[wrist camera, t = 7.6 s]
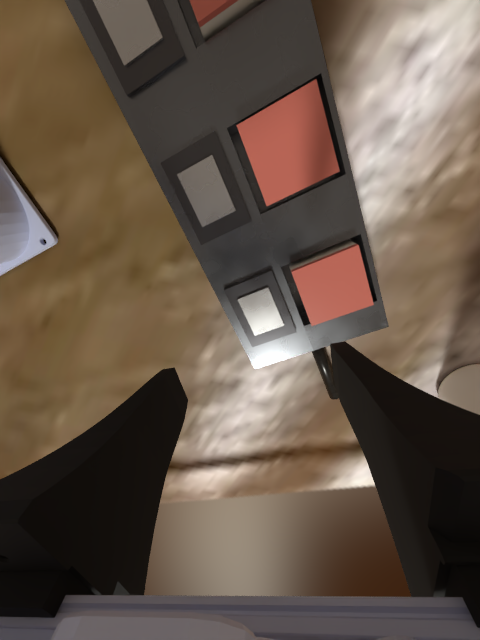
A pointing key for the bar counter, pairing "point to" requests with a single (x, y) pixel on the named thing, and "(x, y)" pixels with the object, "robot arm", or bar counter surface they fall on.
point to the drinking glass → (462, 388)
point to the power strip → (235, 158)
